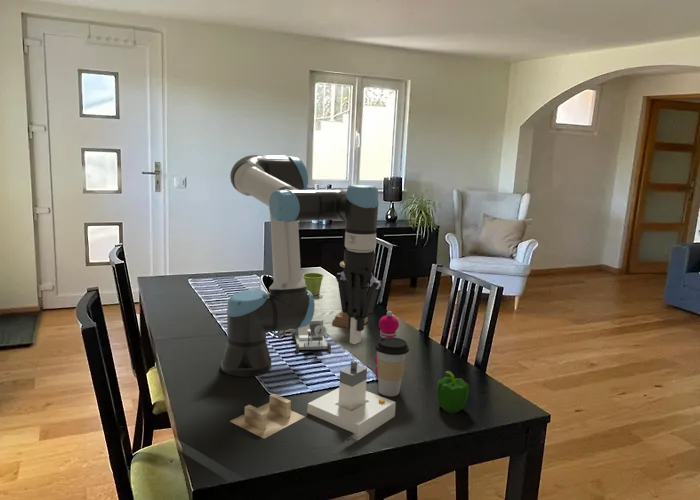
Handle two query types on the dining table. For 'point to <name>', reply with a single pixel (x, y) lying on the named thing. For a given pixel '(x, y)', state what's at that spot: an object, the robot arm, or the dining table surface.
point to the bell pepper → (452, 393)
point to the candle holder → (343, 314)
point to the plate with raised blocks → (268, 417)
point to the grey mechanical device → (311, 336)
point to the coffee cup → (390, 364)
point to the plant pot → (313, 282)
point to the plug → (352, 386)
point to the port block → (353, 413)
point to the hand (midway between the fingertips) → (355, 342)
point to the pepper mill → (387, 328)
